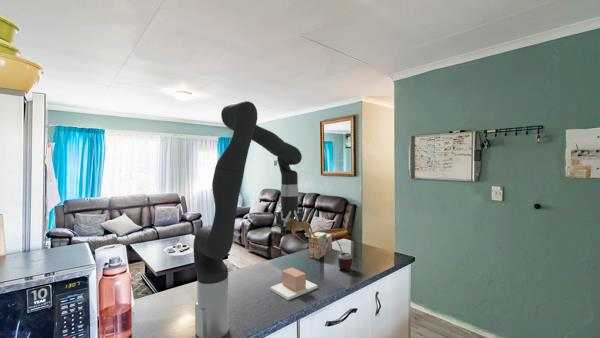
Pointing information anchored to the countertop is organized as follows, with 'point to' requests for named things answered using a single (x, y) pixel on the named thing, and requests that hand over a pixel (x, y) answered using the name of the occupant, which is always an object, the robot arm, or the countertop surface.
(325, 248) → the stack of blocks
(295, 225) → the lion figurine
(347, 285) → the countertop surface
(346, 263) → the mate gourd
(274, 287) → the baseplate
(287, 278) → the terracotta brick
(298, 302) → the countertop surface
